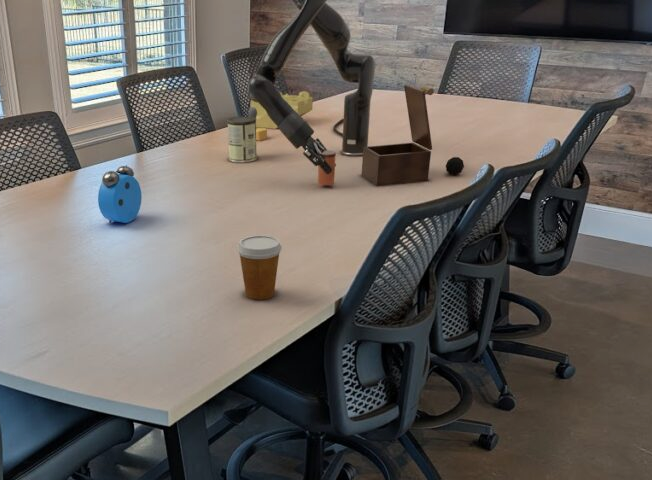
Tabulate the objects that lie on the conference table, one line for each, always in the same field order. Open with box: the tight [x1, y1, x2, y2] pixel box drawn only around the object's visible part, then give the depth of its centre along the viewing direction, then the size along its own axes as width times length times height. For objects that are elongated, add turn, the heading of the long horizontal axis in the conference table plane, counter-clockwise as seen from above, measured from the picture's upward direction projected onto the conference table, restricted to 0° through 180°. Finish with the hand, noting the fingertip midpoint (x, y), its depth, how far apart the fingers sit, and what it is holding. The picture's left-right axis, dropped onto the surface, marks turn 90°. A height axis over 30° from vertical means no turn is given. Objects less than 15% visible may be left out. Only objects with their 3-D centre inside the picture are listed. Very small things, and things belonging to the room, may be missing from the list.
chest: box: [361, 142, 432, 187], centre depth 232 cm, size 17×13×9 cm
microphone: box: [445, 156, 465, 176], centre depth 240 cm, size 6×6×20 cm
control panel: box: [250, 90, 314, 130], centre depth 312 cm, size 24×16×20 cm
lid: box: [403, 84, 435, 151], centre depth 226 cm, size 18×13×6 cm
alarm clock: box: [97, 164, 142, 225], centre depth 203 cm, size 13×6×15 cm, turn 151°
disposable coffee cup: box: [236, 235, 283, 301], centre depth 156 cm, size 10×10×12 cm
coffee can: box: [226, 115, 258, 164], centre depth 260 cm, size 10×10×14 cm
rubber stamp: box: [248, 106, 268, 142], centre depth 289 cm, size 10×6×12 cm, turn 53°
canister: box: [317, 149, 337, 186], centre depth 226 cm, size 5×5×10 cm
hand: (332, 169), depth 226 cm, fingers closed on canister, 5 cm apart
